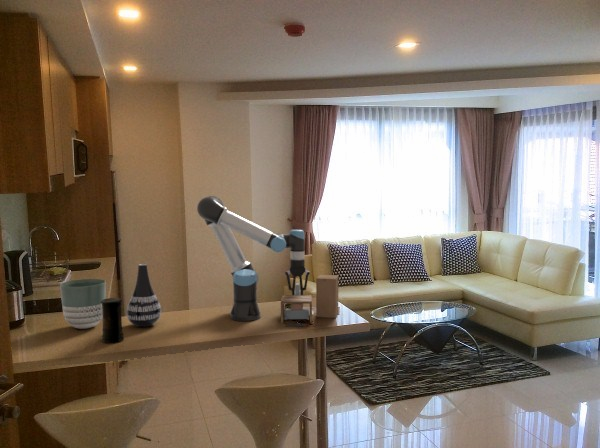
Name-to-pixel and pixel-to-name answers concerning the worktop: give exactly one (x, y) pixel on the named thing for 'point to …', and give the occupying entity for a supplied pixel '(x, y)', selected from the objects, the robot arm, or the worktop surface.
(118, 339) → the container
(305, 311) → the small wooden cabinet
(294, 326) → the pit
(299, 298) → the wooden side table
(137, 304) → the vase
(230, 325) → the worktop surface
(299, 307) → the block
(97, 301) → the planter
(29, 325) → the worktop surface
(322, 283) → the wooden block
